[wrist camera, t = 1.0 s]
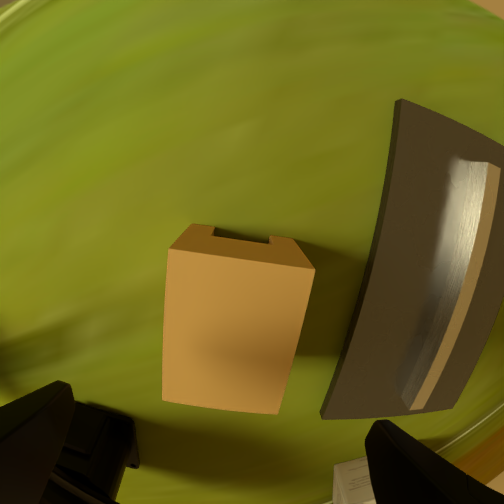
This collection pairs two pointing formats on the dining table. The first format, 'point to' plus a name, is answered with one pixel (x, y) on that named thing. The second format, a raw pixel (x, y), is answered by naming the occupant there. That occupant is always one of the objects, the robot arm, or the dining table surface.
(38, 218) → the dining table surface
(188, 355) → the block
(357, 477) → the small box
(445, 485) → the robot arm
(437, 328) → the plate
